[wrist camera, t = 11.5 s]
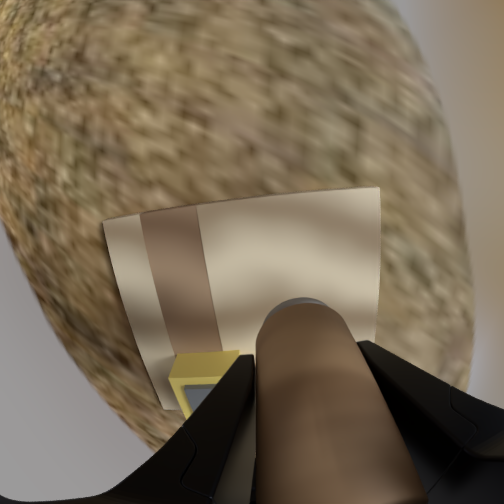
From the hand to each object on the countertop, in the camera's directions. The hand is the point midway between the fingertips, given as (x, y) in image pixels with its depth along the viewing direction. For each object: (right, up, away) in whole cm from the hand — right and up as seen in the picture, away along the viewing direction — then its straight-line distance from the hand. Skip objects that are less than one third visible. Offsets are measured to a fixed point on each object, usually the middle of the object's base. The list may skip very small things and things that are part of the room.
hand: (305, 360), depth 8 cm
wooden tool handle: (0, +1, +1) cm, 2 cm away
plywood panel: (-2, -2, +13) cm, 14 cm away
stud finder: (-5, -7, +14) cm, 17 cm away
